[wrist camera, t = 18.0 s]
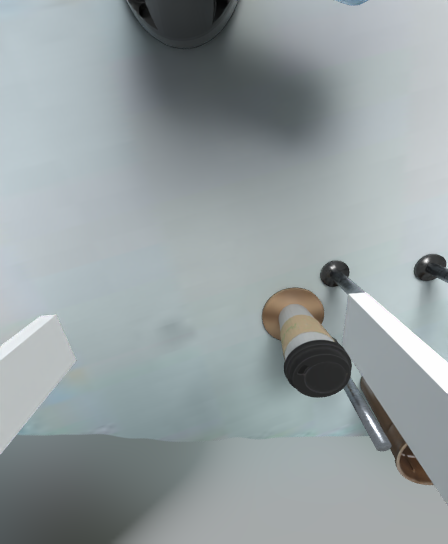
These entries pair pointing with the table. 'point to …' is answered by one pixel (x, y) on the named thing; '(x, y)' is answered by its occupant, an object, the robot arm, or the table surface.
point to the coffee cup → (311, 354)
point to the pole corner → (339, 277)
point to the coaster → (285, 299)
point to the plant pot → (396, 442)
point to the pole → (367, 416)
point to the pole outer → (431, 268)
